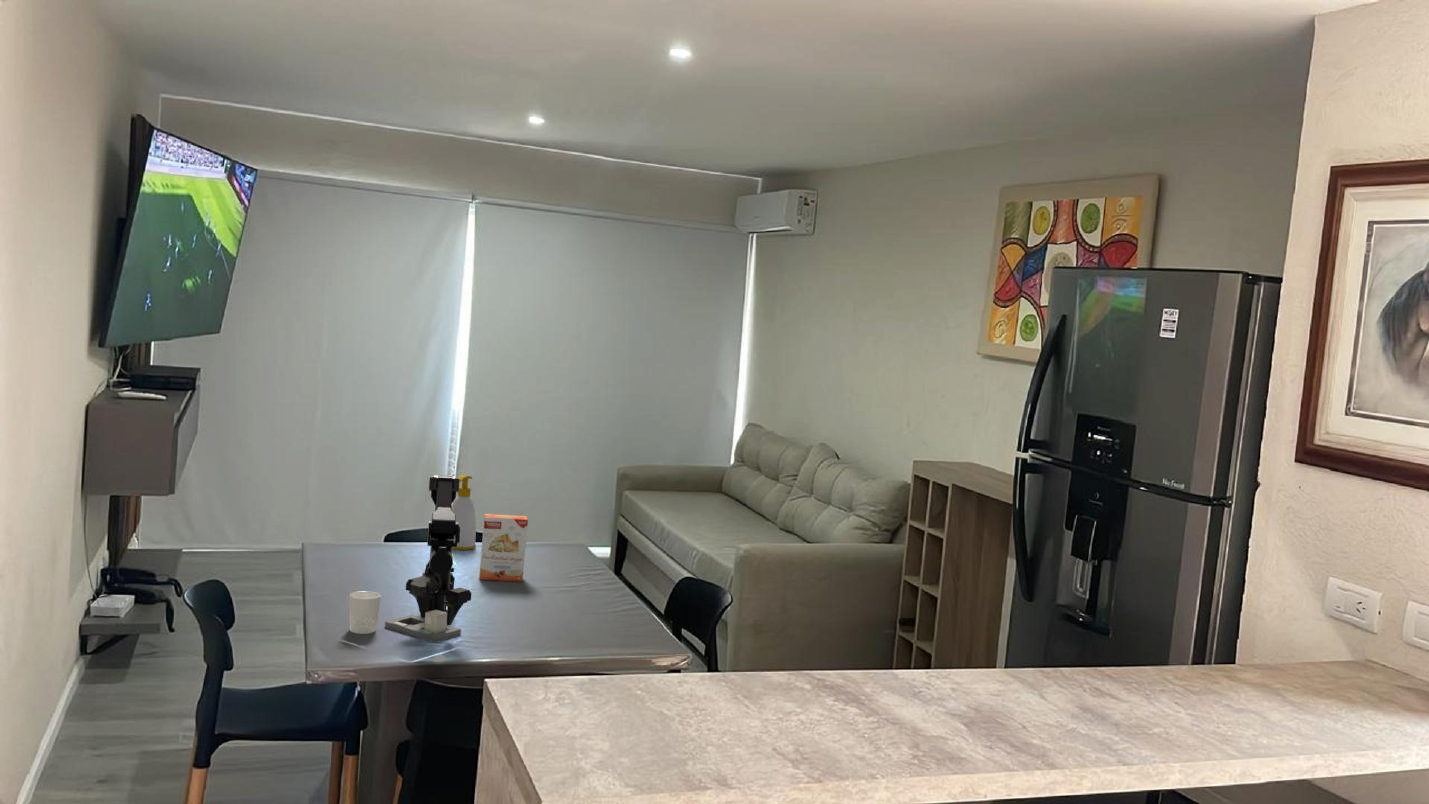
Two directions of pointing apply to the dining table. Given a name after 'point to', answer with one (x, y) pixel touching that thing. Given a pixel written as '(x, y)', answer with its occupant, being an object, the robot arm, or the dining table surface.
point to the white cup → (364, 611)
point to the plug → (435, 621)
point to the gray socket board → (420, 628)
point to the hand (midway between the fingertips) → (436, 621)
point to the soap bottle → (465, 516)
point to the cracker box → (503, 547)
